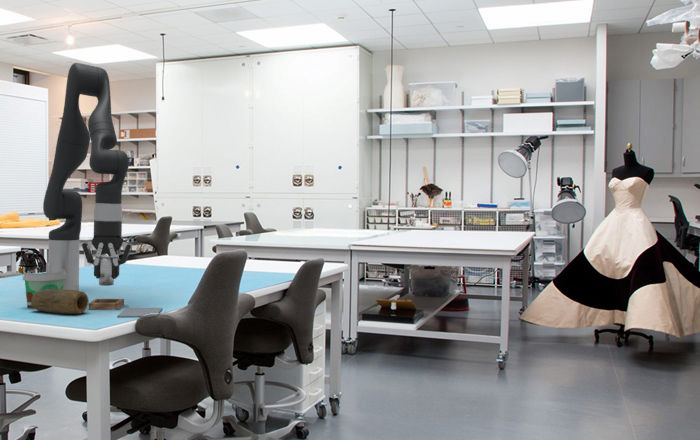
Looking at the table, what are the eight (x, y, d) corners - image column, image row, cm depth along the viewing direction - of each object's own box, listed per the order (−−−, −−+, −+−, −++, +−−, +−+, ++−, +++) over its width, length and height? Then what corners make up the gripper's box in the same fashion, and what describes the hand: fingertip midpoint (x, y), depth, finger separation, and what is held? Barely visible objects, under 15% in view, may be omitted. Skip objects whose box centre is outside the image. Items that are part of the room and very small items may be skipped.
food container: (34, 310, 169) (35, 274, 168) (22, 308, 172) (22, 272, 171) (75, 305, 179) (75, 271, 179) (62, 302, 182) (63, 269, 182)
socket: (88, 309, 172) (88, 303, 172) (95, 304, 180) (96, 298, 180) (118, 309, 174) (118, 303, 173) (124, 304, 181) (124, 298, 181)
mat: (117, 317, 163) (117, 315, 163) (126, 309, 175) (126, 307, 175) (156, 317, 165) (156, 315, 165) (162, 309, 176) (162, 307, 176)
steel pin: (97, 285, 175) (97, 257, 174) (100, 283, 178) (101, 256, 178) (112, 285, 175) (112, 258, 175) (115, 283, 179) (115, 256, 179)
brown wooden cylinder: (92, 312, 169) (92, 288, 169) (75, 317, 162) (76, 292, 162) (44, 309, 172) (45, 285, 172) (26, 313, 165) (27, 288, 165)
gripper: (78, 219, 171) (76, 279, 172) (131, 220, 173) (129, 280, 174) (85, 217, 179) (84, 276, 179) (136, 219, 181) (134, 277, 182)
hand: (106, 278), depth 177 cm, fingers closed on steel pin, 4 cm apart
